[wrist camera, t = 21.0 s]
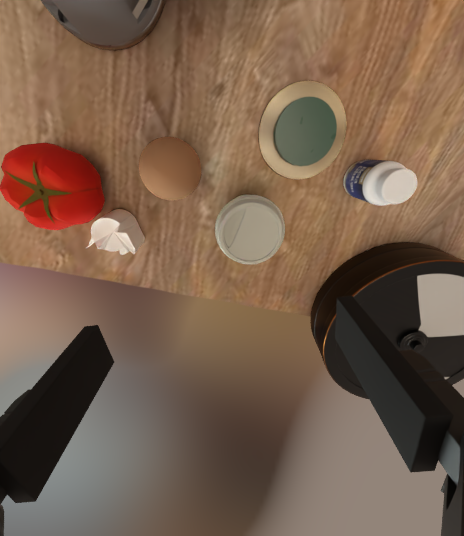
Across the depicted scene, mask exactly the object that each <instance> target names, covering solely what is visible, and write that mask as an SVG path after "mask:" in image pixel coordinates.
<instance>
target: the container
mask: <svg viewBox="0 0 464 536" xmlns="http://www.w3.org/2000/svg"><path fill="white" fill-rule="evenodd" d="M343 296H353V298H354V299H355V300H356V301H357V302H358V304H359V305H360V306H361V307H362V308H363V309H364V311H365V312H366V313H367V314H368V315H369V316H370V318H371V319H372V320H373V321H374V322H375V324H376V325H377V326H378V327H379V328H380V329H381V331H382V332H383V333H384V334H385V335H386V336H387V338H388V339H389V340H390V341H391V342H392V344H393V345H394V346H395V347H396V348H397V349H398V351H401V350H411V349H412V350H414V351H415V352H417V353H418V354H420V355H422V356H423V357H425V358H426V359H427V360H428V361H429V362H430V363H431V364H432V365H433V366H434V367H435V368H436V371H438V372H439V373H440V374H441V375H442V376H443V377H444V378H445V380H446V381H448V382H449V383H450V384H451V385H453V384H455V383H457V382H459V381H460V380H462V379H463V378H464V260H461V259H459V258H457V257H454V256H452V255H450V254H448V253H446V252H444V251H442V250H440V249H437V248H435V247H432V246H429V245H425V244H420V243H408V242H407V243H393V244H388V245H383V246H380V247H376V248H373V249H371V250H368V251H366V252H364V253H361V254H359V255H358V256H356V257H354V258H352V259H351V260H349V261H348V262H346V263H345V264H343V265H342V266H341V267H340V268H338V269H337V270H336V271H335V272H334V273H333V274H332V275H331V276H330V277H329V278H328V280H327V281H326V282H325V283H324V285H323V286H322V288H321V289H320V291H319V292H318V294H317V296H316V299H315V301H314V304H313V307H312V312H311V329H312V333H313V336H314V339H315V341H316V344H317V346H318V348H319V350H320V353H321V355H322V358H323V361H324V364H325V366H326V368H327V370H328V372H329V374H330V375H331V377H332V378H333V380H334V381H335V382H336V383H337V384H338V385H339V386H341V387H342V388H343V389H345V390H346V391H348V392H350V393H352V394H354V395H356V396H359V397H362V398H366V399H369V397H368V396H367V394H366V392H365V390H364V389H363V387H362V385H361V383H360V381H359V380H358V378H357V376H356V374H355V373H354V371H353V369H352V367H351V365H350V364H349V362H348V360H347V358H346V357H345V355H344V353H343V351H342V349H341V348H340V346H339V344H338V342H337V341H336V339H335V332H336V308H337V297H343Z"/></svg>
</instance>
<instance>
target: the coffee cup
mask: <svg viewBox="0 0 464 536" xmlns="http://www.w3.org/2000/svg"><path fill="white" fill-rule="evenodd" d="M284 235H285V223H284V218H283V215H282V213H281V211H280V210H279V208H278V207H277V206H276V205H275V204H274V203H273V202H272V201H270V200H269V199H267V198H265V197H262V196H259V195H248V194H244V195H240V196H238V197H236V198H235V199H233V200H231V201H230V202H228V203H227V204H226V205H225V206H224V207H223V208H222V210H221V211H220V213H219V215H218V217H217V220H216V224H215V236H216V240H217V242H218V245H219V247H220V248H221V250H222V251H223V252H224V253H225V254H226V255H227V256H228V257H229V258H231V259H232V260H234V261H236V262H239V263H242V264H258V263H261V262H264V261H266V260H268V259H269V258H270V257H272V256H273V255H274V254H275V253H276V252H277V250H278V249H279V247H280V246H281V244H282V242H283V239H284Z"/></svg>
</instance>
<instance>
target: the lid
mask: <svg viewBox="0 0 464 536" xmlns="http://www.w3.org/2000/svg"><path fill="white" fill-rule="evenodd" d="M336 131H337V123H336V118H335V115H334V112H333V110H332V109H331V107H330V106H329V105H328V104H327V103H326V102H325V101H323V100H322V99H319V98H316V97H310V96H309V97H303V98H300V99H297V100H295V101H292V102H291V104H289V105H288V106H287V107H285V108H284V110H283V111H282V112H281V114H280V115H279V116H278V119H277V121H276V124H275V128H274V133H273V134H274V142H273V143H274V144H275V148H276V150H277V152H278V154H279V155H280V157H281V158H282V159H283V160H285V162H288V163H290V164H292V165H297V166H307V165H308V166H309V165H311V164H314V163H316V162H318V161H319V160H321V159H322V158H323V157H324V156H325V155H326V154H327V153H328V152H329V150H330V149H331V147H332V145H333V143H334V140H335V137H336Z"/></svg>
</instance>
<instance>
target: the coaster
mask: <svg viewBox="0 0 464 536" xmlns="http://www.w3.org/2000/svg"><path fill="white" fill-rule="evenodd" d="M309 96H310V97H316V98H319V99H322V100H323V101H325V102H326V103H327V104H328V105H329V106H330V107H331V109H332V110H333V112H334V115H335V118H336V123H337V131H336V137H335V140H334V143H333V145H332V147H331V149H330V150H329V152H328V153H327V154H326V155H325V156H324V157H323V158H322V159H321V160H319V161H318V162H316V163H314V164H311V165H309V166H308V165H307V166H297V165H292V164H290V163H288V162H285V160H283V159H282V158H281V157H280V155H279V154H278V152H277V150H276V148H275V144H274V143H273V142H274V134H273V133H274V128H275V124H276V121H277V119H278V116H279V115H280V114H281V112H282V111H283V110H284V108H285V107H287V106H288V105H289V104H291V102H292V101H295V100H297V99H300V98H303V97H309ZM345 135H346V114H345V110H344V107H343V104H342V102H341V100H340V99H339V97H338V96H337V94H336V93H335V92H334V91H333V90H332V89H331V88H329V87H328V86H326V85H324V84H322V83H320V82H316V81H300V82H296V83H293V84H290V85H288V86H287V87H285V88H283V89H282V90H281V91H279V92H278V93H277V94H276V95H275V96H274V97H273V98H272V100H271V101H270V102H269V104H268V105H267V107H266V109H265V111H264V113H263V115H262V118H261V121H260V126H259V134H258V136H259V147H260V150H261V153H262V156H263V158H264V160H265V162H266V163H267V164H268V166H269V167H270V168H271V169H272V170H273V171H275V172H276V173H277V174H279V175H281V176H283V177H286V178H290V179H306V178H310V177H313V176H315V175H317V174H319V173H320V172H322V171H324V170H325V169H326V168H327V167H328V166H329V165H330V164H331V163H332V162H333V161H334V160H335V158H336V157H337V155H338V154H339V152H340V150H341V148H342V145H343V142H344V139H345Z"/></svg>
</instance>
